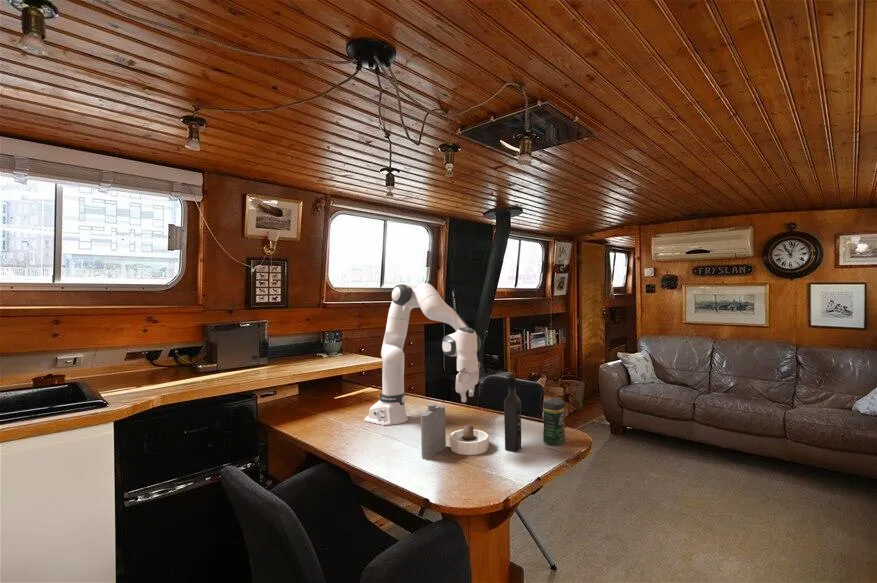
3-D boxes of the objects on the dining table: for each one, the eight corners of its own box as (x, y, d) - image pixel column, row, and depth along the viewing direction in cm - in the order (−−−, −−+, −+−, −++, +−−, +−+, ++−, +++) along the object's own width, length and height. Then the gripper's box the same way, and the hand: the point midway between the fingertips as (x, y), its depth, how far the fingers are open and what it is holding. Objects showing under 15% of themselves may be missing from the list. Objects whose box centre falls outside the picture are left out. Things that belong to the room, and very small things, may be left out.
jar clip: (458, 447, 176) (458, 439, 176) (463, 440, 183) (463, 434, 183) (474, 449, 173) (474, 441, 173) (479, 443, 180) (479, 436, 180)
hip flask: (426, 460, 166) (425, 409, 166) (418, 458, 168) (417, 408, 168) (447, 446, 180) (446, 400, 179) (439, 445, 182) (438, 399, 181)
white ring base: (444, 451, 174) (444, 439, 174) (457, 438, 189) (457, 427, 189) (482, 457, 168) (481, 444, 168) (492, 442, 183) (492, 431, 182)
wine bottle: (522, 448, 176) (521, 377, 175) (516, 452, 171) (515, 379, 171) (510, 445, 179) (508, 375, 179) (504, 450, 174) (502, 378, 174)
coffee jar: (557, 447, 176) (556, 403, 176) (540, 442, 182) (539, 400, 181) (568, 440, 183) (567, 398, 183) (551, 436, 189) (550, 395, 188)
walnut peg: (470, 447, 175) (470, 428, 175) (462, 445, 178) (462, 426, 178) (475, 444, 179) (474, 425, 179) (467, 442, 181) (466, 424, 181)
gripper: (466, 371, 167) (466, 406, 167) (481, 362, 186) (481, 393, 186) (451, 370, 169) (452, 404, 169) (467, 361, 188) (468, 392, 188)
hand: (467, 398), depth 178 cm, fingers open, 8 cm apart
